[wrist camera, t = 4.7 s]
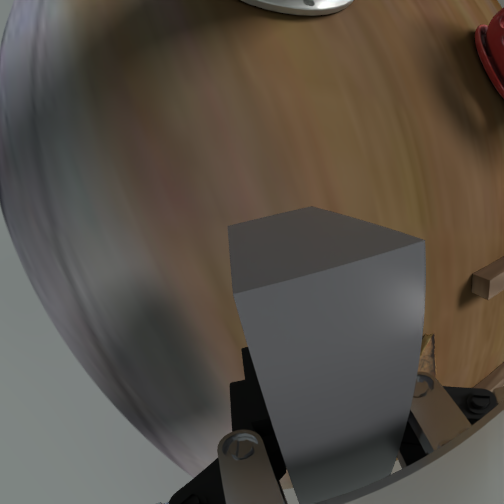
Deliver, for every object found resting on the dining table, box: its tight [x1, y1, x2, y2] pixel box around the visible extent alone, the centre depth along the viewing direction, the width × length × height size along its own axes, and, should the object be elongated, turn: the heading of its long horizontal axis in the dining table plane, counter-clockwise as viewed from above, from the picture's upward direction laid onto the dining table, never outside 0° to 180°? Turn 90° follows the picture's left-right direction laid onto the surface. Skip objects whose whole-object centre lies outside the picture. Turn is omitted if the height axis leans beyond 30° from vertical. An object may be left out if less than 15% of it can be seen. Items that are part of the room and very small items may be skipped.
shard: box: [418, 333, 436, 378], centre depth 21 cm, size 11×8×2 cm
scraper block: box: [228, 206, 426, 504], centre depth 8 cm, size 12×3×6 cm, turn 13°
